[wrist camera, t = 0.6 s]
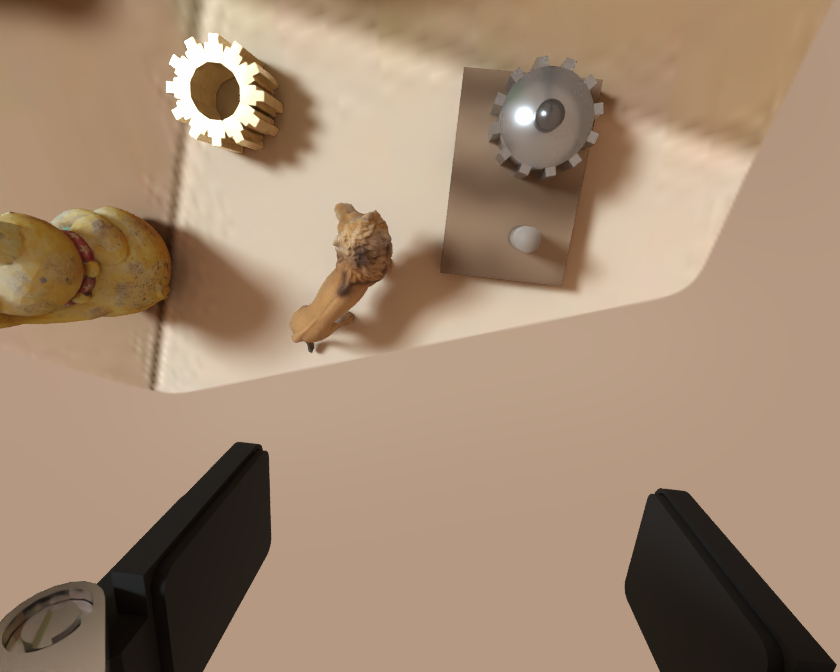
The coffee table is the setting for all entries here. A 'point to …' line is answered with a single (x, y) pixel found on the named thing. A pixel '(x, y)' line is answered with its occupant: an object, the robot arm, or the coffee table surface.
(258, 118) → the brass gear
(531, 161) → the grey gear
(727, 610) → the robot arm
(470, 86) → the gear board
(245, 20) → the coffee table surface
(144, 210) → the coffee table surface
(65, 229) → the decorative figurine
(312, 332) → the lion figurine
